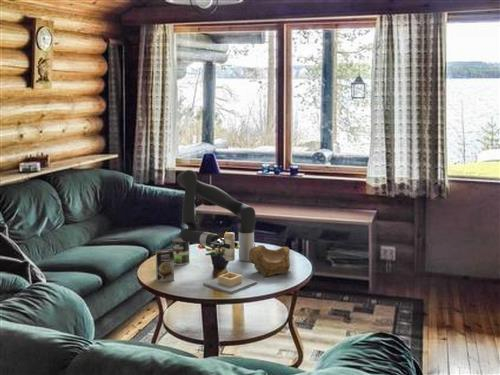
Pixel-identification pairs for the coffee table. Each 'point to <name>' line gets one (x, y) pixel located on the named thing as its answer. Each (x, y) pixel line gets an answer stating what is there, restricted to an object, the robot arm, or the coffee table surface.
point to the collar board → (230, 283)
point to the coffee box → (164, 265)
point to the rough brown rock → (270, 260)
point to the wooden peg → (230, 240)
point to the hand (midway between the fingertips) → (233, 245)
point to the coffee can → (180, 251)
